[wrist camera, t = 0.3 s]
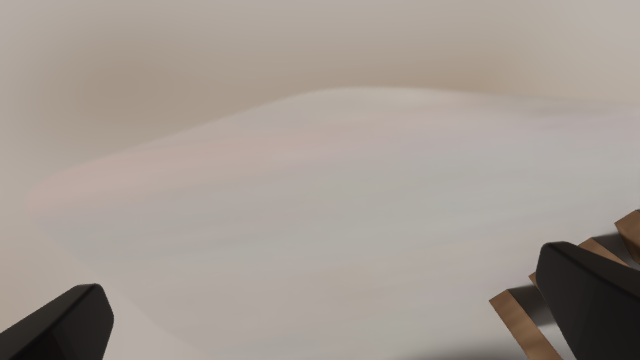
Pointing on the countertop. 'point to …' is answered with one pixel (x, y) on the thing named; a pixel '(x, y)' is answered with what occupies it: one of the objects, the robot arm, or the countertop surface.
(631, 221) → the domino
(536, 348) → the domino
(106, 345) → the robot arm
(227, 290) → the countertop surface
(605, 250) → the domino
